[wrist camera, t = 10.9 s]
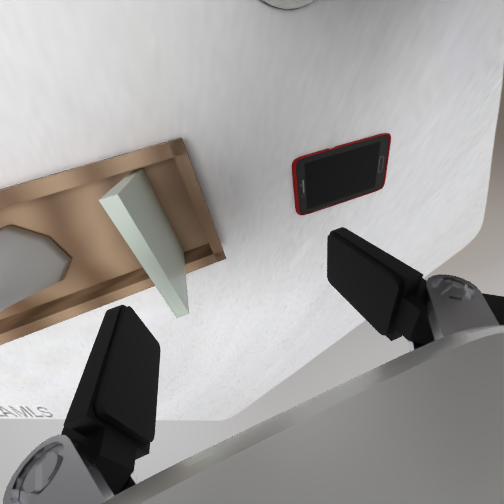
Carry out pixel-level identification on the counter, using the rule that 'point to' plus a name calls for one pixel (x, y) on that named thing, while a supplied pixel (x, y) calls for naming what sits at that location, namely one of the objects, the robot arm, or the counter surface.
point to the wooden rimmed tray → (102, 232)
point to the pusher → (149, 236)
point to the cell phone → (340, 173)
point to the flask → (28, 264)
